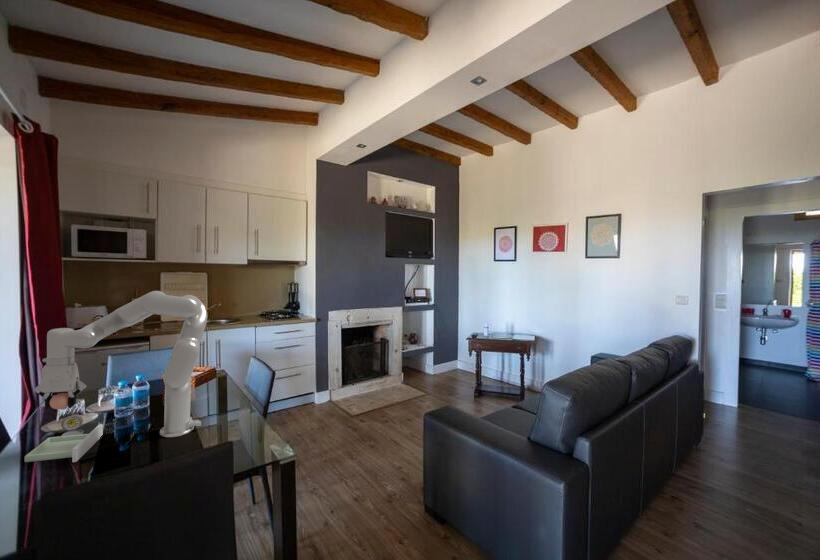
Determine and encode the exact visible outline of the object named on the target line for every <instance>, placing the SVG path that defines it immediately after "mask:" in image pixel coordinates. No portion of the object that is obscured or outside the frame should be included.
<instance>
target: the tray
mask: <svg viewBox="0 0 820 560" xmlns="http://www.w3.org/2000/svg"><path fill="white" fill-rule="evenodd" d="M88 434H89V433H83V434H81V435H71V436H62V435H61V436H52V437H51V436H50V437H47V438H46V439H45V440H44V441H42V442H41V443H40V444H39V445H37V446H36V447H35V448H33V449H32V450H30V452H28V453H27V454H25V456H24V463H30V462H40V461H49V460H57V459H66V458H67V459H69V458H72V449H73V448H74V447H75V446H76V445H77V444H78V443H79V442H81V441H82V440H83V439H84V438H85V437H86V436H87V435H88Z"/></svg>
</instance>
